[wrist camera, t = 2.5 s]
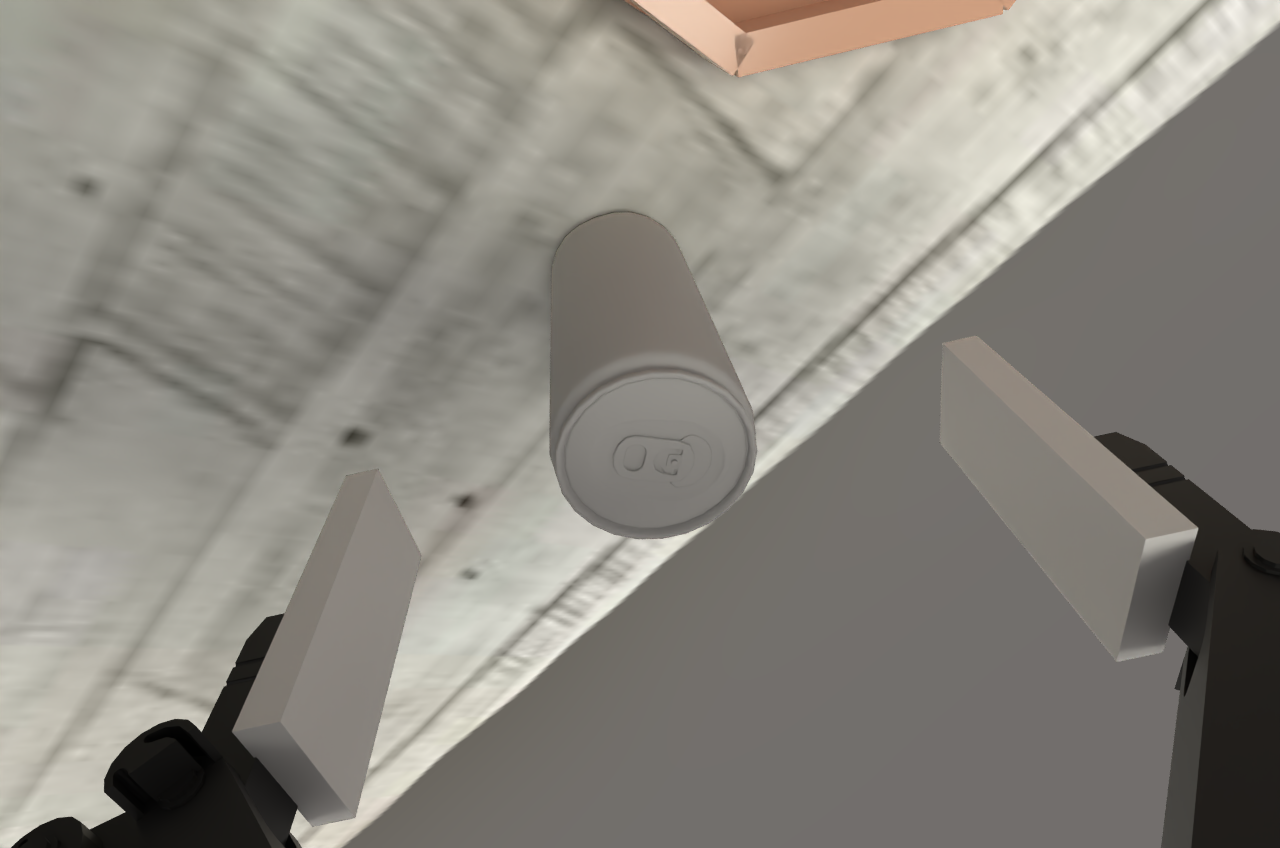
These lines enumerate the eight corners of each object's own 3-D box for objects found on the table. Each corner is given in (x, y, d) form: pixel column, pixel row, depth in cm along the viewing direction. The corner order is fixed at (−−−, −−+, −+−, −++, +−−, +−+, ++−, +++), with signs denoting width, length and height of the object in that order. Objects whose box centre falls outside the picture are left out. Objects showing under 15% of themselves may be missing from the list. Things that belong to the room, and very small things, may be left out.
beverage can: (667, 340, 28) (732, 552, 18) (542, 323, 27) (535, 535, 17) (696, 218, 25) (791, 382, 15) (560, 194, 24) (564, 351, 14)
